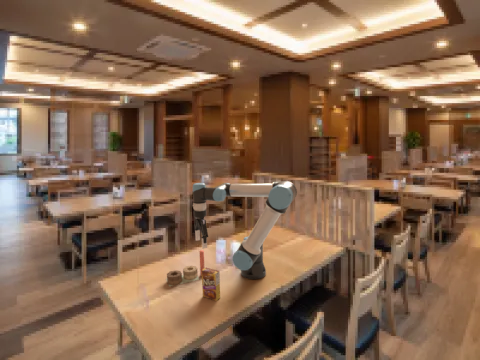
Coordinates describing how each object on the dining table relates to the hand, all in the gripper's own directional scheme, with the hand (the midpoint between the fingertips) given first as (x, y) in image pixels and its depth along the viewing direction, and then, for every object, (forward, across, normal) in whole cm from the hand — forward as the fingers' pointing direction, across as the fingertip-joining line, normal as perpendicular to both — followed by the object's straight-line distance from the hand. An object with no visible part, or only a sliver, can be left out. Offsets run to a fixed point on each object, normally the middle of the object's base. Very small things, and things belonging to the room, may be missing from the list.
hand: (201, 244), depth 175 cm
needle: (+20, 0, 0) cm, 20 cm away
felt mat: (+20, -1, -12) cm, 24 cm away
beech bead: (+20, -2, -7) cm, 21 cm away
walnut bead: (+20, 0, -17) cm, 26 cm away
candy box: (+21, +24, -3) cm, 32 cm away
